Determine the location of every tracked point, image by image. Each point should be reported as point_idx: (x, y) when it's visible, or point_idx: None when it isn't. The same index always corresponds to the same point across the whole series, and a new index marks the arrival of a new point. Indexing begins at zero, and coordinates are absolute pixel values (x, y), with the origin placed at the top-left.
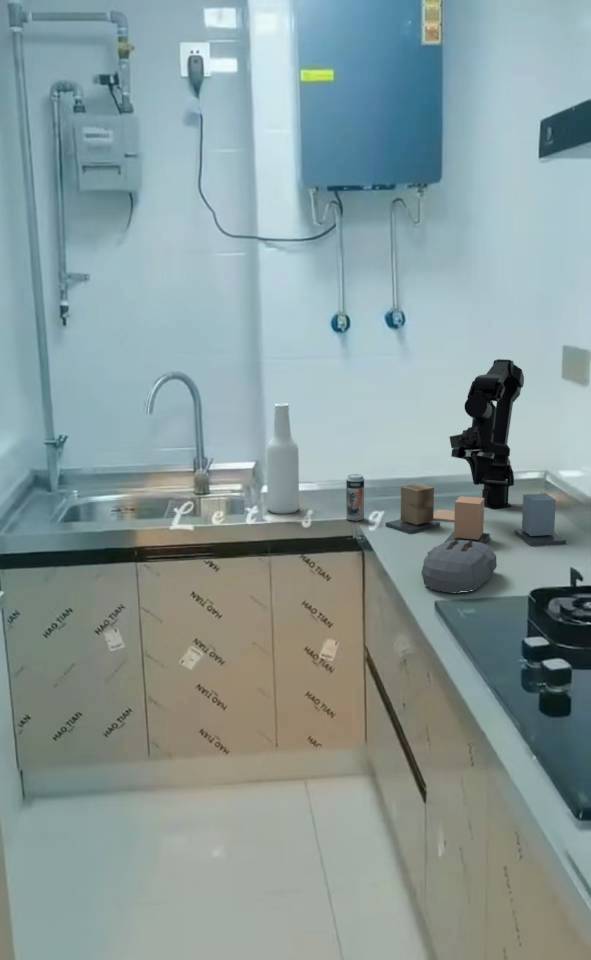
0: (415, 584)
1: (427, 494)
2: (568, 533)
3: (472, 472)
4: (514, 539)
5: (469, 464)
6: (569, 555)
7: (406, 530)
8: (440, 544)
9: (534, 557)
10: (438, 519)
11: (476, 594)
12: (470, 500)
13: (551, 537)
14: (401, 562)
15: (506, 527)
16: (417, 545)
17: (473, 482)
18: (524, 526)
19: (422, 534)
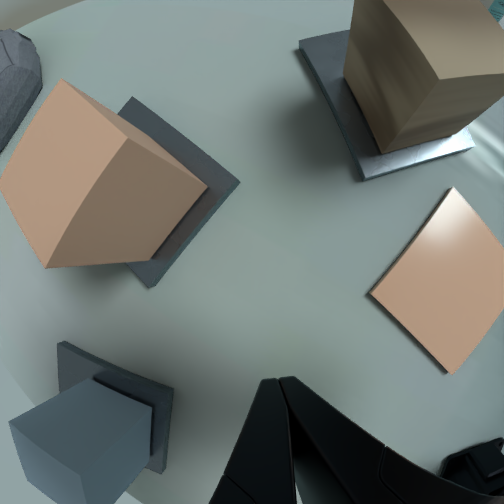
0: (32, 33)
1: (396, 50)
2: (141, 484)
3: (345, 445)
4: (119, 346)
5: (474, 495)
6: (17, 363)
7: (314, 39)
8: (2, 47)
9: (14, 289)
10: (433, 214)
11: None
12: (39, 163)
13: None
14: (105, 8)
15: (246, 409)
16: (181, 40)
17: (297, 380)
18: (123, 405)
19: (281, 78)
